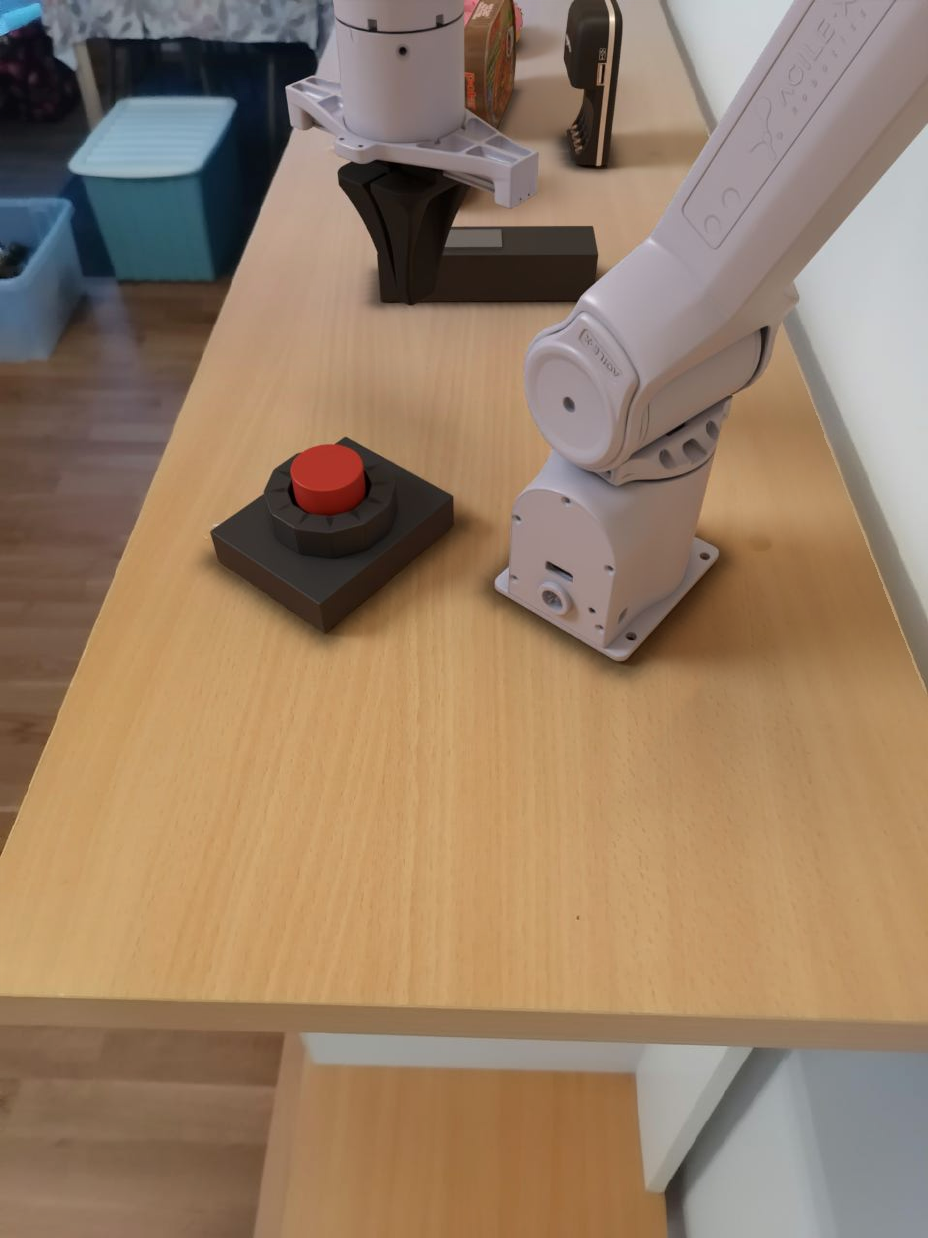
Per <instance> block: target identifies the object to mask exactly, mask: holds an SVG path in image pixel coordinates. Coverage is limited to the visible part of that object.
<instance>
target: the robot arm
mask: <svg viewBox="0 0 928 1238" xmlns="http://www.w3.org/2000/svg"><path fill="white" fill-rule="evenodd" d="M332 8H333V9H332V10H333V18H334V19H333V20H334V28H335V36H336V48H337V58H338V69H339V79H340V80H339V81H337V80H332V79H327V78H323V77H320V76H316V75H314V74H313V75H310V76H307V77H305V78H303V79H301V80H298V81H296V82H293V83H291V84H288V85H286V86H285V94H286V95H285V96H286V101H287V108H288V109H287V111H288V116H289V123H290V126H291V128H295V129H297V130H300V131H309V130H311V129H313V128H315V129H318V130H320V131H323V132H325V133H329V134H331V135H333V136H335V137H334V138H333V145H334V154H335V155H336V156H338V157H340V158H342V159H344V160H347V161H350V162H347V163H346V164H343V165H342V166H340V168H338V169H337V181H338V186H339V187H340V189H341V190H342V191H343V192H344V194H345V196H347V198H348V199H349V201H350V202H351V204H352V205H353V207H354V209H355V210H356V211H357V213H358V215H359V217H360V219H361V220H362V222H363V224H364V226H365V228H366V230H367V232H368V234H369V236H370V238H371V240H372V243H373V246H374V248H375V251H376V254H377V253H378V256H379V258H380V261H381V264H382V267H383V270H384V273H385V276H386V279H387V281H388V284H389V287H390V290H391V293H392V295H393V298H394V299H396V300H399V301H398V302H401V303H403V304H405V305H408V306H412V307H413V306H415V305H416V304H417V303H419V302H422V301H421V300H422V299H424V298H426V297H427V296H429V295H430V294H432V293H434V291H435V286H436V281H437V277H438V272H439V267H440V263H441V259H442V255H443V251H444V248H445V244H446V241H447V238H448V235H449V232H450V229H451V227H453V224H454V222H455V219H456V216H457V215H458V212H459V210H460V208H461V206H462V204H463V201H464V200H465V198H466V196H467V194H468V193H469V191H470V189H471V187H473V188H476V189H478V190H481V191H484V192H486V193H490V194H492V195H494V203H495V204H496V205H497V206H501V207H504V208H506V209H509V210H512V209H514V208H515V207H517V206H519V205H521V204H523V203H525V202H526V201H528V200H530V199H531V198H533V197H534V196H536V195H537V194H538V182H539V181H538V177H539V159H540V158H539V157H540V153H539V151H537V150H534V149H532V148H529V147H526V146H524V145H522V144H520V143H518V142H516V141H515V140H513V139H511V138H510V137H508V136H507V135H505V134H504V133H502V132H501V131H499V130H498V129H497V128H496V129H495V128H493V127H492V126H491V125H489V124H488V123H486V122H485V121H483V120H482V119H480V118H479V117H478V116H476V115H475V114H473V113H472V112H470V111H469V110H467V109H466V108H465V75H464V0H332ZM927 125H928V0H793V1H792V3H791V4H790V6H789V8H788V9H787V11H786V12H785V14H784V16H783V18H782V19H781V21H780V22H779V24H778V26H777V27H776V29H775V30H774V32H773V34H772V35H771V37H770V39H769V40H768V42H767V43H766V45H765V47H764V48H763V50H762V52H761V54H760V55H759V57H758V58H757V59H756V62H755V63H754V65H752V68H751V70H750V71H749V73H748V74H747V76H746V78H745V79H744V81H743V82H742V84H741V85H740V88H739V89H738V90H737V92H736V94H735V95H734V97H733V99H732V100H731V102H730V103H729V105H728V106H727V109H726V110H725V112H724V113H723V115H722V117H721V119H720V120H719V122H718V123H717V125H716V127H715V129H714V130H713V132H712V133H711V134H710V136H709V138H708V140H707V141H706V143H705V145H704V146H703V147H702V149H701V150H700V153H699V154H698V156H697V157H696V159H695V161H694V162H693V164H692V166H691V167H690V169H689V170H688V172H687V173H686V175H685V177H684V179H683V180H682V182H681V184H680V185H679V187H678V188H677V190H676V192H675V193H674V195H673V197H672V198H671V200H670V201H669V203H668V205H667V207H666V208H665V210H664V211H663V213H662V214H661V216H660V218H659V219H658V220H657V223H656V224H655V226H653V227H654V228H653V229H652V231H651V232H650V234H648V236H647V237H646V238H645V239H644V240H643V241H641V243H639V245H637V246H636V247H635V248H634V249H633V250H632V251H630V252H629V253H628V254H627V255H626V256H625V257H623V258H622V259H621V260H620V261H618V262H617V263H616V264H615V265H614V266H613V267H612V268H610V269H609V270H608V271H607V272H606V273H605V274H603V276H601V277H600V278H599V279H598V280H597V281H595V284H594V285H592V286H591V287H590V288H589V289H588V290H587V291H586V292H585V293H584V294H583V295H582V296H581V297H580V299H579V300H578V301H576V303H575V306H574V308H573V309H572V311H571V312H570V314H569V315H568V316H567V317H566V318H565V319H564V320H561V321H559V322H556V323H554V324H551V325H549V326H546V327H544V328H543V329H541V330H540V331H539V332H537V333H536V334H535V336H534V337H533V338H532V339H531V340H530V342H529V344H528V346H527V349H526V352H525V354H524V361H523V370H522V371H523V374H522V375H523V390H524V397H525V400H526V404H527V407H528V410H529V412H530V416H531V418H532V420H533V422H534V424H535V426H536V428H537V430H538V431H539V433H540V434H541V436H542V437H543V439H544V440H545V442H547V444H548V445H549V446H550V447H551V450H550V452H549V454H548V456H547V460H546V462H545V463H544V464H543V465H542V467H541V469H540V470H539V472H538V473H537V474H536V476H535V477H534V478H533V479H532V480H531V481H530V483H529V484H528V485H527V486H526V487H525V488H524V489H522V491H520V493H519V494H518V496H517V497H516V498H515V500H514V503H513V505H512V508H511V513H510V514H511V515H510V535H509V536H510V537H509V556H508V557H509V559H508V560H509V562H508V566H507V567H506V568H505V569H504V570H503V571H502V572H500V574H499V575H497V577H496V578H495V579H494V588H495V590H496V591H497V592H499V593H500V594H501V595H503V596H505V597H507V598H508V599H510V600H512V601H513V602H515V603H517V604H518V605H520V606H522V607H523V608H526V609H527V610H529V611H530V612H532V613H534V614H535V615H537V616H538V617H540V618H542V619H544V620H546V622H549V623H551V624H553V625H554V626H555V627H558V628H559V629H561V630H563V631H564V632H566V633H568V634H569V635H571V636H572V637H574V638H576V639H578V640H579V641H581V642H582V643H585V644H586V645H588V646H590V647H591V648H593V649H595V650H596V651H598V652H599V653H601V654H602V655H605V656H606V657H608V658H610V659H611V660H613V661H616V662H623V661H626V660H628V659H629V658H630V656H631V655H632V654H633V653H634V652H635V651H636V650H637V649H638V648H639V647H640V646H641V644H642V643H644V642H645V640H646V639H647V638H648V636H649V635H650V634H651V633H652V632H653V631H654V630H655V629H656V628H657V627H658V626H659V624H660V623H661V622H662V621H663V620H664V619H665V618H666V617H667V616H668V614H669V613H670V612H671V611H672V610H673V609H674V608H675V607H676V606H677V605H678V604H679V603H680V601H681V600H682V599H683V598H684V597H685V596H686V595H687V594H688V593H689V591H690V590H691V589H692V588H693V587H694V586H695V585H696V584H697V582H699V580H700V579H701V578H702V577H703V576H704V575H705V574H706V572H708V570H709V569H710V568H711V567H712V566H713V565H714V564H715V563H716V561H717V560H718V559H719V555H720V551H719V548H717V547H716V546H715V545H712V544H711V543H709V542H706V541H705V540H702V539H701V538H699V537H696V532H697V529H698V524H699V519H700V516H701V511H702V508H703V503H704V500H705V495H706V492H707V487H708V483H709V479H710V476H711V471H712V467H713V463H714V459H715V455H716V452H717V447H718V442H719V439H720V435H721V431H722V425H723V423H724V422H725V421H726V420H728V418H729V413H730V410H731V406H732V402H733V398H734V395H735V394H738V393H740V392H741V391H743V390H745V389H748V388H750V387H751V386H752V385H754V384H756V382H757V381H758V380H759V379H761V377H762V376H763V375H764V373H765V371H766V369H768V367H769V364H770V361H771V359H772V356H773V351H774V347H775V342H776V338H777V334H778V332H779V329H780V327H781V325H782V323H783V321H784V320H785V319H786V317H787V316H788V315H789V313H791V311H792V310H793V309H794V308H795V306H796V305H797V304H799V302H800V294H799V291H798V289H797V287H796V284H795V281H794V280H795V279H796V278H797V277H798V276H799V275H800V274H801V272H802V271H803V270H804V269H805V267H807V265H808V264H809V263H810V262H811V260H813V258H814V257H815V256H816V255H817V254H818V253H819V251H820V250H821V249H822V248H823V247H824V246H825V244H826V243H827V242H828V241H829V240H830V238H831V237H832V236H833V235H834V234H835V233H836V232H837V230H838V229H839V228H840V227H841V225H842V224H843V223H844V222H845V221H846V220H847V219H848V218H849V216H850V215H851V214H852V213H853V212H854V211H855V210H856V208H857V207H858V206H859V204H860V203H861V202H862V201H863V200H864V199H865V197H866V196H868V194H869V193H870V192H871V190H872V189H873V188H874V187H875V186H876V185H877V183H878V182H879V181H880V180H881V179H882V177H883V176H884V175H885V174H886V173H887V172H888V170H889V169H890V168H891V167H892V166H893V164H895V163H896V162H897V160H898V159H899V158H900V157H901V155H903V153H904V152H905V151H906V150H907V148H909V146H910V145H911V144H912V143H913V141H915V139H916V138H917V137H918V135H920V133H921V132H922V131H923V130H924V128H925V127H926V126H927ZM628 638H631V639H633V640H631V639H628Z"/></svg>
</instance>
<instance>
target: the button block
mask: <svg viewBox="0 0 928 1238" xmlns="http://www.w3.org/2000/svg"><path fill="white" fill-rule="evenodd" d="M334 444H335V445H341V446H345V447H348V448H350V449H352V450H354V451H355V452H356V453H357V454H358V455H359V456H360V458H361V459H362V462H363V469H364V478H365V487H366V493H365V496H364V499H363V500H362V502H361V503H360V504H359V505H358V506H357V507H356V508H354V509H353V510H351V511H349V512H345V513H341V514H337V515H333V516H324V515H315V514H310V513H308V512H306V511H305V510H303V509H302V508H301V507H300V506H299V505H298V503H297V501H296V499H295V494H294V489H293V483H292V478H291V471H290V470H291V465H292V463H293V461H294V460H295V458H296V457H297V456H298V455H299V454H300V453H302V452H303V451H301V452H297V453H295V454H294V455H292V456H290V458H288V459H286V460H285V461H283V462H282V463H280V464H279V465H278V466H276V467H275V468H274V469H273V470H272V472H271V474H270V476H269V478H268V480H267V483H266V484H265V487H264V489H263V494H261V495H260V496H258V497H257V498H255V499H254V500H253V501H251V502H249V504H247V505H245V506H244V507H242V508H241V509H240V510H238V511H237V512H236V513H234V514H233V515H231V516H230V517H228V518H227V519H226V520H224V521H223V522H221V523H219V525H217V526H216V527H214V528H213V529H211V530H210V531H209V533H210V538H211V539H212V540H211V541H212V544H213V547H214V551H215V554H216V558H217V562H219V563H221V564H222V565H224V566H225V567H226V568H228V569H230V570H231V571H232V572H234V573H235V574H237V575H238V576H239V577H241V578H243V579H244V580H246V581H247V582H248V583H250V584H251V585H253V586H254V587H255V588H257V589H259V590H260V591H262V592H263V593H264V594H266V595H268V596H269V597H271V598H272V599H273V600H274V601H276V602H278V603H279V604H281V605H282V606H284V607H285V608H287V609H288V610H290V611H291V612H292V613H293V614H295V615H297V617H300V618H301V619H302V620H304V621H305V622H307V623H308V624H310V625H311V626H313V627H314V628H316V629H317V630H318V631H320V632H322V633H323V634H326V633H328V631H330V630H331V629H333V628H334V627H335V626H336V625H337V624H338V623H340V622H341V621H342V620H343V619H345V618H346V617H347V616H348V615H349V614H350V613H352V612H353V611H354V610H355V609H356V608H358V607H359V606H360V605H361V604H362V603H363V602H365V601H366V600H367V599H368V598H370V596H372V595H374V593H376V592H377V591H378V590H379V589H380V588H382V587H383V586H384V585H385V584H387V583H388V581H389V580H391V579H392V578H393V577H394V576H396V575H398V573H399V572H401V571H402V570H403V569H404V568H405V567H407V566H408V565H409V564H410V563H411V562H412V561H414V560H415V559H416V558H417V557H419V555H421V554H422V553H423V552H425V551H426V550H427V549H428V548H429V547H430V546H431V545H433V544H434V543H435V542H436V541H438V540H439V539H440V538H441V537H443V536H444V535H445V534H446V533H447V532H449V531H450V530H451V529H452V528H454V526H455V508H454V505H455V504H454V499H455V498H454V495H452V494H451V493H449V492H447V491H446V490H443V488H440V487H438V486H436V485H435V484H433V483H431V482H429V481H427V480H425V479H424V478H422V477H420V476H418V475H417V474H414V473H413V472H411V471H409V470H407V469H405V468H404V467H402V466H400V465H398V464H397V463H395V462H393V461H391V460H390V459H387V458H386V457H384V456H383V455H381V454H378V453H376V452H375V451H373V450H372V449H369V448H367V447H365V446H364V445H362V444H360V443H358V442H357V441H355V440H353V439H351V438H349V437H348V436H344V437H342V438H341V439H340V440H338V441H337V442H335V443H334Z"/></svg>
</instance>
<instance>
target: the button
mask: <svg viewBox="0 0 928 1238" xmlns="http://www.w3.org/2000/svg"><path fill="white" fill-rule="evenodd" d="M301 452H302V453H300V452H299V453H300V454H299V455H298V456H297V457H296V458H295V460H294V461H293V463H292V465H291V470H290V471H291V478H292V483H293V489H294V494H295V499H296V501H297V503H298V505H299V506H300V507H301V508H302V509H303V510H305V511H306V512H308V513H310V514H315V515H324V516H333V515H337V514H341V513H345V512H349V511H351V510H353V509H354V508H356V507H357V506H358V505H359V504H360V503H361V502H362V500H363V499H364V496H365V493H366V487H365V478H364V469H363V462H362V459H361V458H360V456H359V455H358V454H357V453H356V452H355V451H354V450H352V449H350V448H348V447H345V446H341V445H335V443H334V444H333V443H331V444H330V443H327V444H320V445H315V446H312V447H309V448H307V449H305V450H304V451H301Z"/></svg>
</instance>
